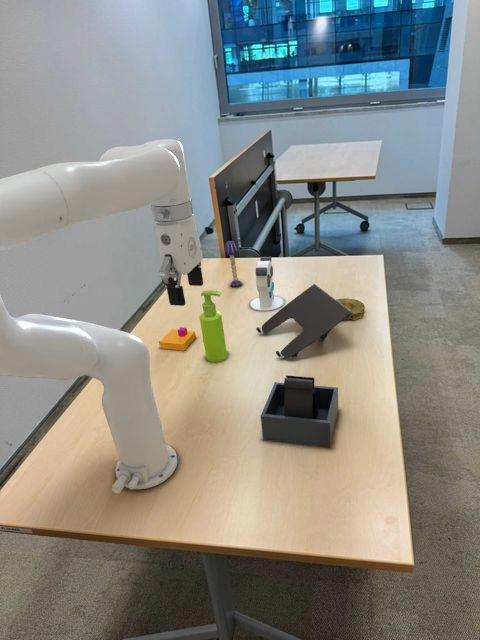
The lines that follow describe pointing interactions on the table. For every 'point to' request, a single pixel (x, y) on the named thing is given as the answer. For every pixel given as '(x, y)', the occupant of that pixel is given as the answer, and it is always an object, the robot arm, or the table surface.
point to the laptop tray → (308, 318)
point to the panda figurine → (265, 287)
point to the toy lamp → (232, 262)
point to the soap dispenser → (212, 329)
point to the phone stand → (300, 397)
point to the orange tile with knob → (177, 339)
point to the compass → (353, 307)
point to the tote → (300, 419)
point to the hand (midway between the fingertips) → (187, 294)
